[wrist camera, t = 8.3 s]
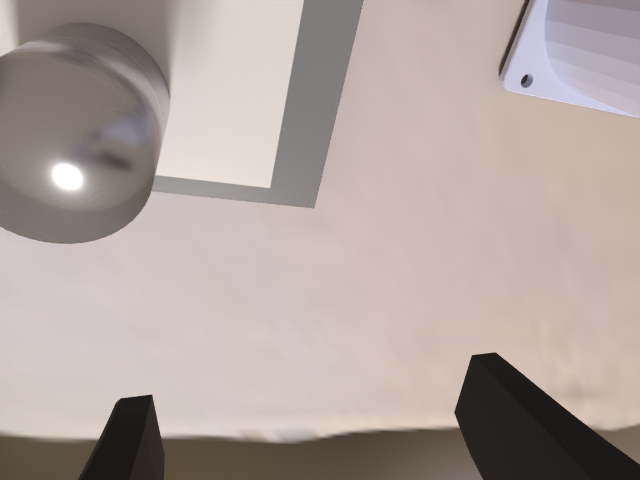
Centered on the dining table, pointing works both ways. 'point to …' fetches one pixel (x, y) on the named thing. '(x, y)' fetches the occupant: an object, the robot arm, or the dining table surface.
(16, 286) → the dining table surface
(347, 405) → the dining table surface
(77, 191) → the cylinder
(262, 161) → the scale
